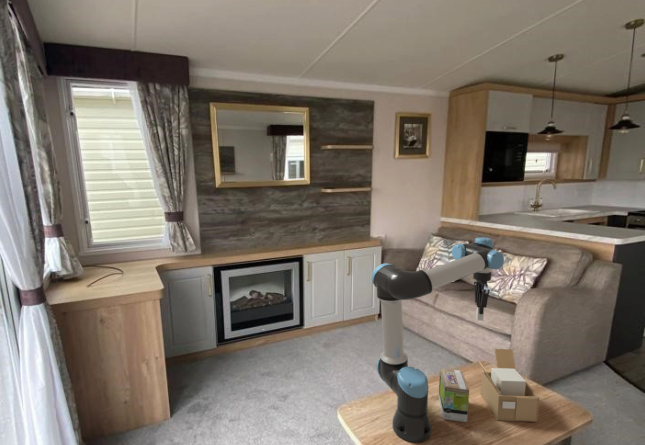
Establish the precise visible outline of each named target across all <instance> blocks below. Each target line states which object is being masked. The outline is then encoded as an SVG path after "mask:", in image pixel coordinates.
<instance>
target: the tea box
mask: <svg viewBox="0 0 645 445" xmlns="http://www.w3.org/2000/svg"><path fill="white" fill-rule="evenodd" d="M438 382H439V384H438V385H439V386H438V388H439V389H438V401H439V405H440V410H441V416H442V419H443V420H449V421H456V422H464V423H467V422H468V416H469V398H470V388H469V386H468V382H467V380H466V377H465V373H464V372H463V370H459V369H458V370H457V369H447V368H440V369H439V381H438Z"/></svg>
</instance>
